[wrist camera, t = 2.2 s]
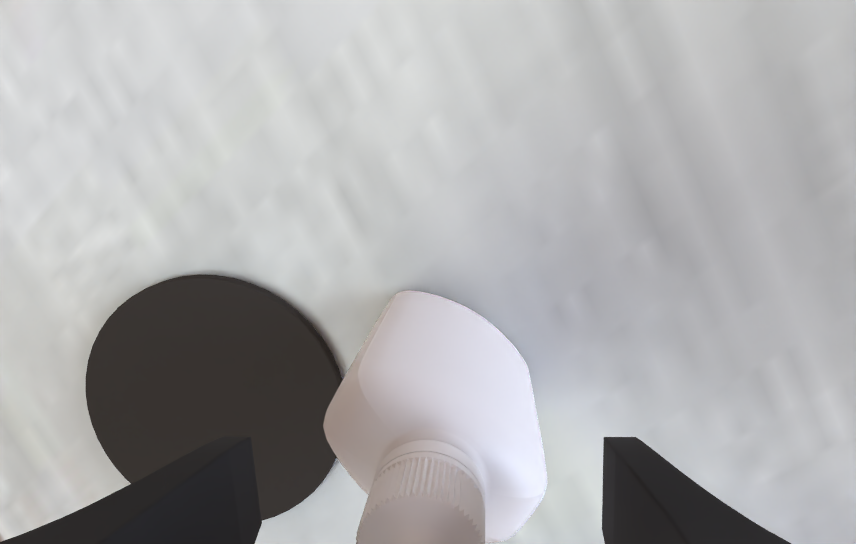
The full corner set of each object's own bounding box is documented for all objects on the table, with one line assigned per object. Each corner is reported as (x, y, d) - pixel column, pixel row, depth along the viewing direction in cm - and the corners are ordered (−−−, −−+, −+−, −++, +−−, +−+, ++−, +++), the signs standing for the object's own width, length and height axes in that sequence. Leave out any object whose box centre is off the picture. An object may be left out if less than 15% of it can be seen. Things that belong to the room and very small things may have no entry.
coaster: (356, 518, 23) (353, 527, 23) (116, 515, 24) (109, 523, 24) (334, 270, 21) (331, 273, 20) (71, 277, 22) (62, 281, 21)
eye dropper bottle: (435, 437, 22) (381, 776, 10) (360, 309, 21) (208, 523, 10) (541, 387, 21) (611, 696, 10) (467, 253, 20) (444, 412, 9)
